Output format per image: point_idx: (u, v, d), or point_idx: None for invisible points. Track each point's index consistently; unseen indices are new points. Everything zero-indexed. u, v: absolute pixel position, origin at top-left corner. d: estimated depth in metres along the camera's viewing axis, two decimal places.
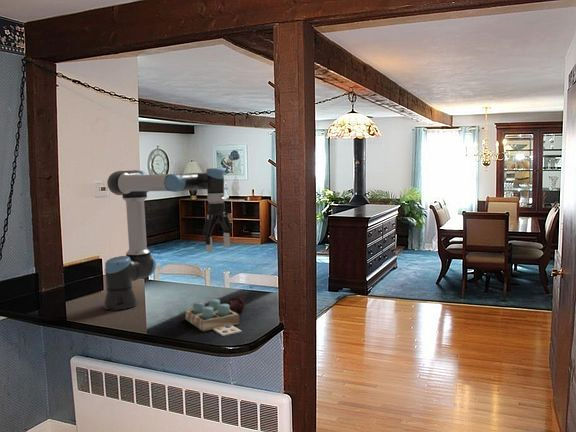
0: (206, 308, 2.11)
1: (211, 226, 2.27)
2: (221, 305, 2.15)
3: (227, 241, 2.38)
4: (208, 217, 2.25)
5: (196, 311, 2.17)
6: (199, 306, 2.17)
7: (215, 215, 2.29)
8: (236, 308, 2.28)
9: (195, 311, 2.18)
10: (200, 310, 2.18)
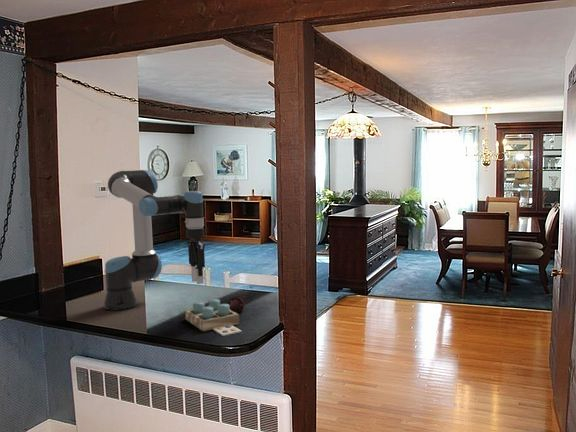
0: (206, 308, 2.11)
1: None
2: (221, 305, 2.15)
3: None
4: None
5: (196, 311, 2.17)
6: (199, 306, 2.17)
7: (190, 240, 2.19)
8: (236, 308, 2.28)
9: (195, 311, 2.18)
10: (200, 310, 2.18)
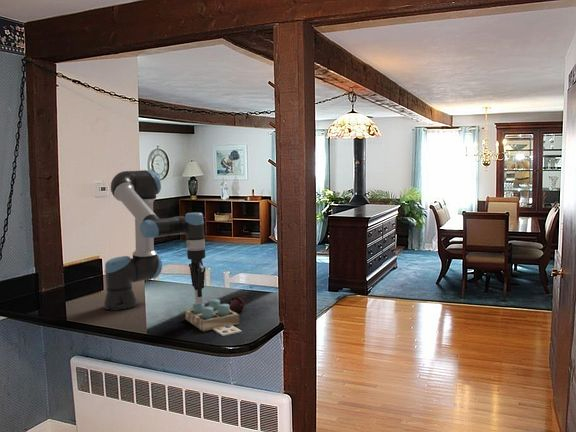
0: (206, 308, 2.11)
1: None
2: (221, 305, 2.15)
3: None
4: None
5: (197, 312, 2.17)
6: (199, 307, 2.17)
7: (191, 261, 2.20)
8: (236, 308, 2.29)
9: (195, 312, 2.18)
10: (200, 311, 2.18)
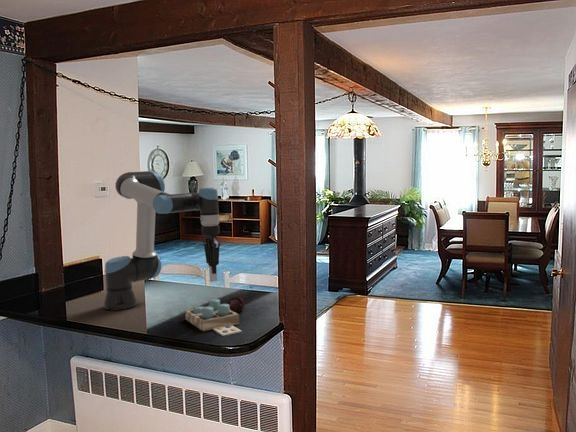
0: (206, 308, 2.11)
1: None
2: (221, 305, 2.15)
3: None
4: None
5: None
6: (199, 311, 2.17)
7: (205, 237, 2.15)
8: (236, 308, 2.29)
9: None
10: None
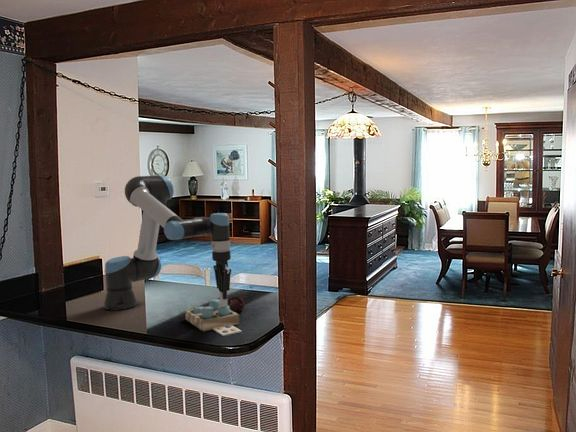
0: (206, 308, 2.11)
1: None
2: None
3: None
4: None
5: None
6: (199, 311, 2.17)
7: (216, 262, 2.15)
8: (236, 307, 2.29)
9: None
10: None
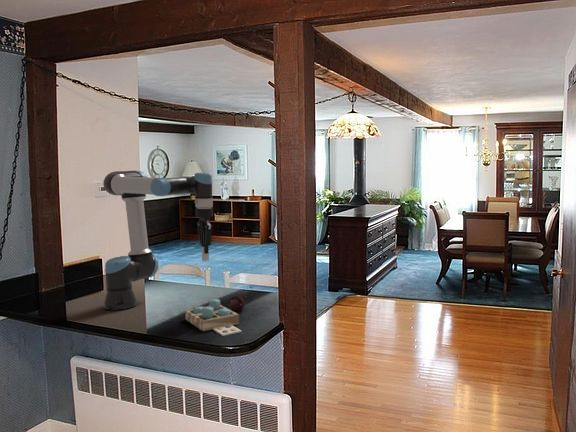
0: (206, 308, 2.11)
1: None
2: (221, 310, 2.15)
3: None
4: None
5: None
6: (199, 311, 2.17)
7: (199, 219, 2.29)
8: (236, 307, 2.30)
9: None
10: None
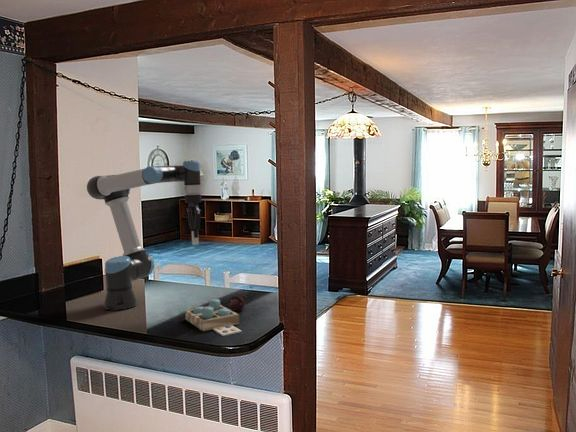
0: (206, 308, 2.11)
1: None
2: (221, 310, 2.15)
3: None
4: None
5: None
6: (199, 311, 2.17)
7: (189, 205, 2.41)
8: (236, 307, 2.30)
9: None
10: None
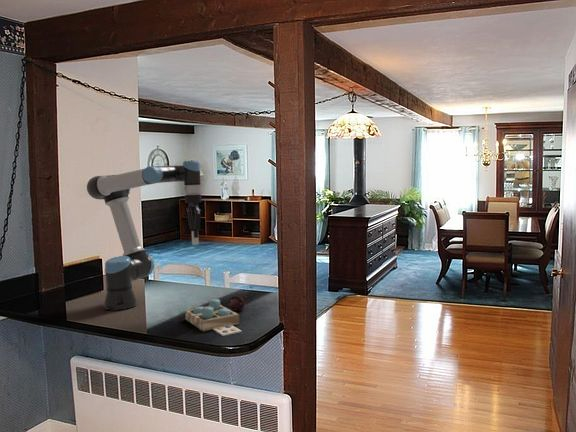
0: (206, 308, 2.11)
1: None
2: (221, 310, 2.15)
3: None
4: None
5: None
6: (199, 311, 2.17)
7: (189, 205, 2.41)
8: (235, 307, 2.30)
9: None
10: None
